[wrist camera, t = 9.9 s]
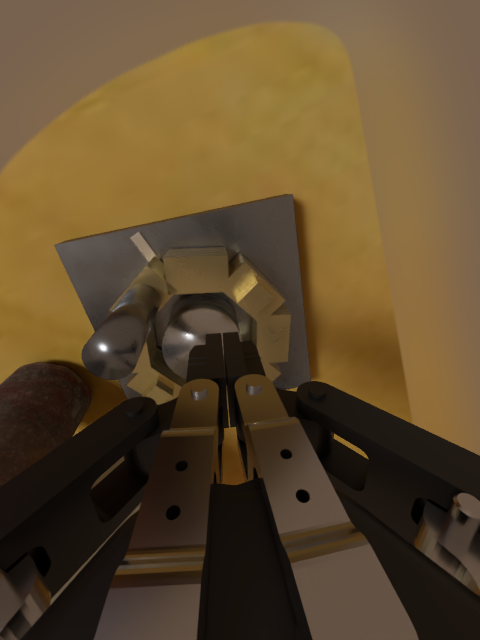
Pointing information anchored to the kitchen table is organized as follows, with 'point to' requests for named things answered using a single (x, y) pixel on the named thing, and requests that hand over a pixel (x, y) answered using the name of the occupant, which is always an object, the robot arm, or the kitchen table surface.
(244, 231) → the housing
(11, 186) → the kitchen table surface
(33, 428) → the candle
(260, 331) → the tan block ring
